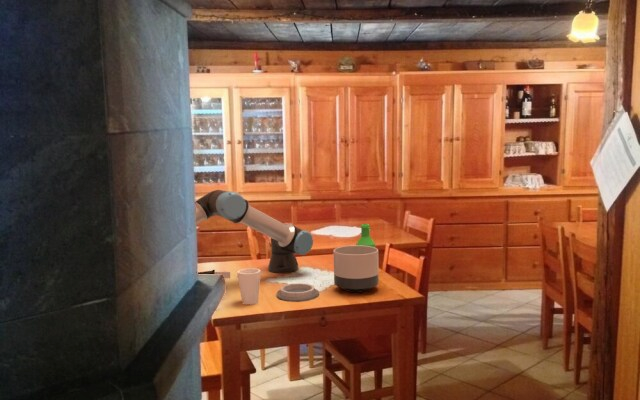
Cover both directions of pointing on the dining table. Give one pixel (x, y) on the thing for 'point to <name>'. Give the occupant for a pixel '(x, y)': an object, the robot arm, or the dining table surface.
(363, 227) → the bottle
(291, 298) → the collar coaster
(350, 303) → the dining table surface
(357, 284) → the planter
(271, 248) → the robot arm
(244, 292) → the foam cup
